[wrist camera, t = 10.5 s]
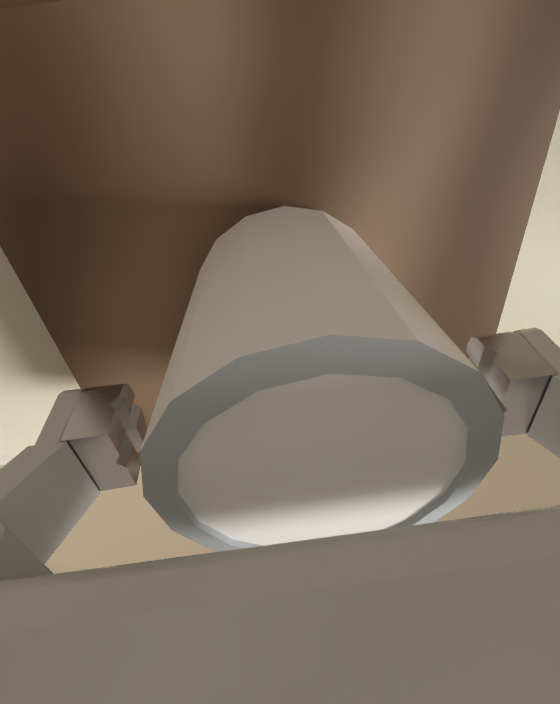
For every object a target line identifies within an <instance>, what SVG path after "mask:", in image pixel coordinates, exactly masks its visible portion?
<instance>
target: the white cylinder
mask: <svg viewBox="0 0 560 704" xmlns="http://www.w3.org/2000/svg"><path fill="white" fill-rule="evenodd" d="M504 416H505V415H504V413H503V412H502V410H501V408H500V406H499V405H498V403H497V401H496V399H495V398H494V396H493V394H492V392H491V391H490V389H489V387H488V385H487V384H486V382H485V380H484V378H483V377H482V375H481V373H480V372H479V370H478V369H477V368H476V367H475V366H474V365H473V364H472V363H471V361H470V360H469V359H468V358H467V357H466V356H465V355H464V354H463V353H462V351H461V350H460V349H459V348H458V347H457V346H456V345H455V344H454V342H453V341H452V340H451V339H450V338H449V337H448V336H447V335H446V333H445V332H444V331H443V330H442V329H441V328H440V327H439V326H438V324H437V323H436V322H435V321H434V320H433V319H432V318H431V317H430V315H429V314H428V313H427V312H426V311H425V310H424V309H423V308H422V306H421V305H420V304H419V303H418V302H417V301H416V300H415V299H414V297H413V296H412V295H411V294H410V293H409V292H408V291H407V290H406V288H405V287H404V286H403V285H402V284H401V283H400V282H399V281H398V279H397V278H396V277H395V276H394V275H393V274H392V273H391V272H390V270H389V269H388V268H387V267H386V266H385V265H384V264H383V263H382V261H381V260H380V259H379V258H378V257H377V256H376V255H375V254H374V252H373V251H372V250H371V249H370V248H369V247H368V246H367V245H366V244H365V242H364V241H363V240H362V239H361V238H360V237H359V236H358V235H357V233H356V232H355V231H354V230H353V229H352V228H350V227H348V226H347V225H345V224H343V223H342V222H340V221H338V220H337V219H335V218H333V217H332V216H330V215H328V214H327V213H325V212H323V211H321V210H313V209H305V208H297V207H288V206H282V207H278V208H274V209H271V210H267V211H264V212H260V213H256V214H253V215H249V216H246V217H244V218H243V219H242V220H241V221H239V222H238V223H237V224H235V225H234V226H233V227H232V228H230V229H229V230H228V231H226V232H225V233H224V234H223V235H221V236H220V237H219V238H217V239H216V241H215V243H214V244H213V246H212V248H211V250H210V252H209V254H208V256H207V258H206V259H205V261H204V263H203V265H202V267H201V269H200V271H199V274H198V277H197V280H196V283H195V286H194V289H193V293H192V296H191V299H190V302H189V305H188V308H187V311H186V314H185V317H184V320H183V323H182V326H181V329H180V332H179V335H178V338H177V341H176V344H175V347H174V350H173V353H172V356H171V359H170V362H169V365H168V368H167V371H166V374H165V377H164V380H163V383H162V386H161V389H160V392H159V395H158V398H157V401H156V404H155V407H154V411H153V414H152V417H151V420H150V423H149V426H148V429H147V432H146V435H145V438H144V441H143V444H142V447H141V450H140V459H141V471H142V483H143V495H144V498H145V499H146V500H147V501H148V502H149V503H150V505H151V506H152V507H153V508H154V509H155V510H156V512H157V513H158V514H159V515H160V516H161V518H162V519H163V520H164V521H165V523H166V524H167V525H168V526H169V527H170V529H171V530H172V531H175V532H177V533H179V534H180V535H182V536H184V537H187V538H189V539H191V540H193V541H195V542H197V543H199V544H201V545H203V546H205V547H207V548H209V549H211V550H213V551H215V552H220V551H228V550H235V549H243V548H250V547H257V546H265V545H272V544H279V543H287V542H294V541H302V540H309V539H316V538H324V537H331V536H338V535H346V534H353V533H360V532H368V531H375V530H383V529H390V528H397V527H405V526H412V525H419V524H427V523H434V522H435V521H437V520H438V519H439V518H441V517H442V516H444V515H445V514H446V513H448V512H449V511H451V510H452V509H454V508H455V507H457V506H458V505H460V504H461V503H462V502H464V501H465V500H467V499H468V498H469V497H470V495H471V494H472V493H473V492H474V490H475V489H476V488H477V486H478V485H479V484H480V482H481V481H482V480H483V478H484V477H485V476H486V474H487V473H488V472H489V470H490V469H491V468H492V466H493V465H494V464H495V463H496V461H497V460H498V454H499V448H500V442H501V435H502V429H503V423H504Z"/></svg>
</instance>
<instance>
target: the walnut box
mask: <svg viewBox="0 0 560 704" xmlns="http://www.w3.org/2000/svg"><path fill="white" fill-rule="evenodd" d="M559 110H560V0H0V246H1V248H2V249H3V251H4V253H5V255H6V257H7V258H8V260H9V262H10V264H11V265H12V267H13V269H14V271H15V273H16V274H17V276H18V278H19V280H20V281H21V283H22V285H23V287H24V288H25V290H26V292H27V294H28V296H29V297H30V299H31V301H32V303H33V304H34V306H35V308H36V310H37V311H38V313H39V315H40V317H41V319H42V320H43V322H44V324H45V326H46V327H47V329H48V331H49V333H50V335H51V336H52V338H53V340H54V342H55V343H56V345H57V347H58V349H59V350H60V352H61V354H62V356H63V358H64V359H65V361H66V363H67V365H68V366H69V368H70V370H71V372H72V374H73V375H74V377H75V379H76V381H77V382H78V384H79V386H80V388H81V389H84V388H90V387H99V386H108V385H117V384H128V385H130V386H131V388H132V390H133V392H134V394H135V397H134V401H133V404H135V405H137V406H138V407H140V408H141V409H142V412H143V414H144V417H145V421H146V432H147V429H148V426H149V423H150V420H151V417H152V414H153V411H154V407H155V404H156V401H157V398H158V395H159V392H160V389H161V386H162V383H163V380H164V377H165V374H166V371H167V368H168V365H169V362H170V359H171V356H172V353H173V350H174V347H175V344H176V341H177V338H178V335H179V332H180V329H181V326H182V323H183V320H184V317H185V314H186V311H187V308H188V305H189V302H190V299H191V296H192V293H193V289H194V286H195V283H196V280H197V277H198V274H199V271H200V269H201V267H202V265H203V263H204V261H205V259H206V258H207V256H208V254H209V252H210V250H211V248H212V246H213V244H214V243H215V241H216V239H217V238H219V237H220V236H221V235H223V234H224V233H225V232H226V231H228V230H229V229H230V228H232V227H233V226H234V225H235V224H237V223H238V222H239V221H241V220H242V219H243V218H244V217H246V216H249V215H253V214H256V213H260V212H264V211H267V210H271V209H274V208H278V207H282V206H288V207H297V208H305V209H313V210H321V211H323V212H325V213H327V214H328V215H330V216H332V217H333V218H335V219H337V220H338V221H340V222H342V223H343V224H345V225H347V226H348V227H350V228H352V229H353V230H354V231H355V232H356V233H357V235H358V236H359V237H360V238H361V239H362V240H363V241H364V242H365V244H366V245H367V246H368V247H369V248H370V249H371V250H372V251H373V252H374V254H375V255H376V256H377V257H378V258H379V259H380V260H381V261H382V263H383V264H384V265H385V266H386V267H387V268H388V269H389V270H390V272H391V273H392V274H393V275H394V276H395V277H396V278H397V279H398V281H399V282H400V283H401V284H402V285H403V286H404V287H405V288H406V290H407V291H408V292H409V293H410V294H411V295H412V296H413V297H414V299H415V300H416V301H417V302H418V303H419V304H420V305H421V306H422V308H423V309H424V310H425V311H426V312H427V313H428V314H429V315H430V317H431V318H432V319H433V320H434V321H435V322H436V323H437V324H438V326H439V327H440V328H441V329H442V330H443V331H444V332H445V333H446V335H447V336H448V337H449V338H450V339H451V340H452V341H453V342H454V344H455V345H456V346H457V347H458V348H459V349H460V350H461V351H462V353H463V354H464V355H465V356H466V357H467V358H468V359H469V358H470V356H469V355H468V353H467V352H466V348H467V344H468V342H469V340H470V339H471V337H478V336H485V335H492V334H496V332H497V328H498V325H499V321H500V317H501V314H502V310H503V307H504V303H505V300H506V296H507V293H508V289H509V286H510V282H511V279H512V275H513V272H514V268H515V265H516V261H517V258H518V254H519V251H520V247H521V244H522V240H523V237H524V233H525V230H526V226H527V223H528V219H529V216H530V212H531V209H532V205H533V202H534V198H535V195H536V191H537V188H538V184H539V180H540V177H541V173H542V170H543V166H544V163H545V159H546V156H547V152H548V149H549V145H550V142H551V138H552V135H553V131H554V128H555V124H556V121H557V117H558V114H559ZM138 455H139V457H140V451H139V452H138ZM140 466H141V465H140Z"/></svg>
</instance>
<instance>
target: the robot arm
mask: <svg viewBox="0 0 560 704" xmlns="http://www.w3.org/2000/svg"><path fill="white" fill-rule="evenodd" d="M466 352H467V353H468V355H469V356H470V358H469V360H470V361H471V363H472V364H473V365H474V366H475V367H476V368H477V369H478V370H479V372H480V373H481V375H482V377H483V378H484V380H485V382H486V384H487V385H488V387H489V389H490V391H491V392H492V394H493V396H494V398H495V399H496V401H497V403H498V405H499V406H500V408H501V410H502V412H503V413H504V415H505V416H504V423H503V429H502V435H501V436H507V435H517V434H525V433H528V434H527V435H528V436H529V437H531V438H532V439H534V440H535V441H537V442H538V443H539V444H541V445H542V446H544V447H545V448H547V449H548V450H549V451H551V452H552V453H554V454H555V455H557V456H558V457H560V348H559V347H558V346H557V345H556V344H555V343H554V342H553V341H552V340H551V339H550V338H549V337H548V336H547V335H546V334H545V333H544V332H543V331H542V330H540V329H538V328H530V329H524V330H517V331H513V332H506V333H499V334H492V335H485V336H478V337H471V339H470V340H469V342H468V344H467V348H466ZM134 397H135V394H134V392H133V390H132V388H131V386H130V385H128V384H117V385H108V386H99V387H90V388H84V389H75V390H66V391H63V392H61V393H60V394H59V395H58V397H57V399H56V401H55V403H54V405H53V407H52V410H51V412H50V414H49V416H48V418H47V420H46V422H45V425H44V427H43V429H42V431H41V433H40V435H39V437H38V439H37V442H36V444H35V446H28V447H27V448H26V449H24V450H23V451H22V452H21V453H19V454H18V455H17V456H16V457H15V458H13V459H12V460H11V461H10V462H9V463H7V464H6V465H5V466H4V467H2V468H1V469H0V704H560V505H559V506H551V507H545V508H538V509H530V510H522V511H515V512H507V513H500V514H493V515H486V516H478V517H471V518H464V519H456V520H449V521H442V522H434V523H427V524H419V525H412V526H405V527H397V528H390V529H383V530H375V531H368V532H360V533H353V534H346V535H338V536H331V537H324V538H316V539H309V540H302V541H294V542H287V543H279V544H272V545H265V546H257V547H250V548H243V549H235V550H228V551H220V552H213V553H206V554H198V555H191V556H184V557H176V558H169V559H162V560H154V561H147V562H140V563H132V564H125V565H117V566H110V567H102V568H95V569H88V570H80V571H73V572H65V573H58V574H53V573H52V572H51V571H50V570H49V569H48V568H47V567H46V566H45V565H44V564H45V563H46V562H47V560H48V559H49V558H50V557H51V555H52V554H53V553H54V551H55V550H56V549H57V548H58V546H59V545H60V544H61V543H62V541H63V540H64V539H65V537H66V536H67V535H68V533H69V532H70V531H71V530H72V528H73V527H74V526H75V525H76V523H77V522H78V520H79V519H80V518H81V517H82V516H83V514H84V513H85V512H86V511H87V509H88V508H89V507H90V505H91V504H92V503H93V501H94V500H95V499H96V497H98V495H99V494H100V491H103V490H109V489H115V488H121V487H128V486H134V485H136V484H137V479H138V474H139V470H140V465H141V459H140V457H139V455H138V452H139V451H140V450H141V447H142V444H143V441H144V438H145V435H146V421H145V417H144V414H143V412H142V409H141V408H140V407H138V406H137V405H135V404H133V401H134Z"/></svg>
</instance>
